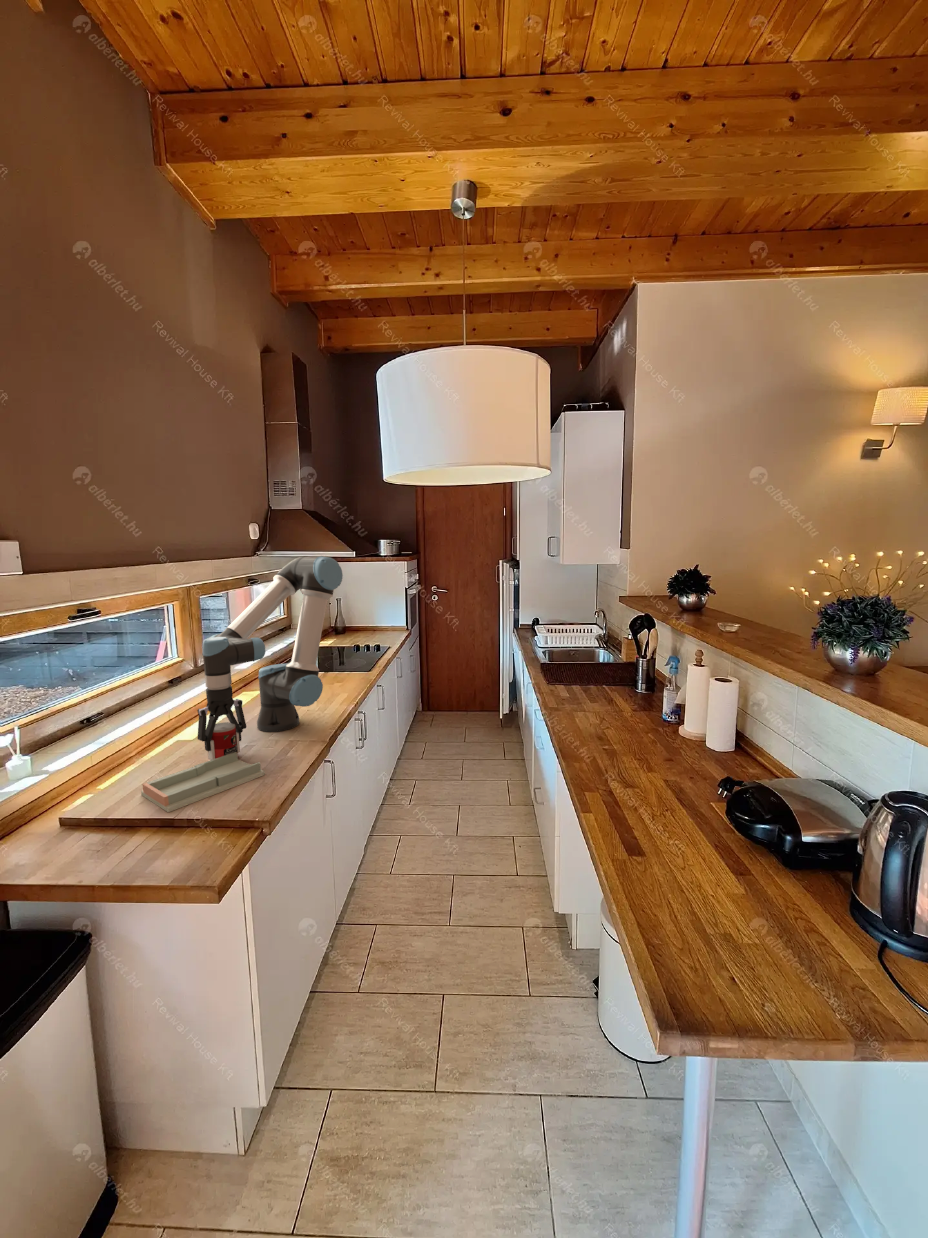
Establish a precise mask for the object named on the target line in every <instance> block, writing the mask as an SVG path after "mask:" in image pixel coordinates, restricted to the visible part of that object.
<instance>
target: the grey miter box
mask: <svg viewBox="0 0 928 1238" xmlns="http://www.w3.org/2000/svg"><path fill="white" fill-rule="evenodd" d="M261 764H262V763H261V762H259V761H257V762H255V763H252V764H250V763H247V762H246V761H243V760H241V759H239V757H238V756H237V752H234V753H231V754H228V755H225V756H222V757H219V758H216V759H213V760H207V761H204V762H201V763H199V764H196V765H193V766H191V767H188V768H185V769H183V770H181V771H177V772H174V773H172V774H167V775H165V776H162V777H159V778H156V779H152V780H150V781H147V782H144V783H142V790H141V791H140V794H141V796H142V797H143V798H145V799H146V800H148V801H150V802H151V803H153V804H154V805H155V806H157V807H159V808H160V809H162V810H163V811H165V812H167V813H170V812H173V811H175V810H178V809H181V808H183V807H186V806H187V805H191V804H193V803H196V802H199V801H200V800H204V799H206V798H208V797H211V796H214V795H216V794H219V793H221V792H225V791H227V790H229V789H231V788H235V787H237V786H239V785H242V784H244V783H247V782H250V781H252V780H256V779H257V778H259V777H263V776H265V775H266V774H265V773H266V772H265V770H263V769H262V767H261Z"/></svg>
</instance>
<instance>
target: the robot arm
mask: <svg viewBox="0 0 928 1238" xmlns="http://www.w3.org/2000/svg"><path fill="white" fill-rule="evenodd" d="M343 576H344V575H343V570H342V567H341V566H340V563H339V562H338V561H337V560H336V559H334V558H333V557H331V556H329V557H328V556H322V555H321V556H308V555H303V556H302V555H301V556H299V557H296V558H295V559H294V558H293V559H292V560H291V561H289V562H288V563H287V564H285V565H284V566H283V567H282V568H281V569H280V570H279V571H278V572H277V573H276V574H275V575H274V576H273V578H272V579H273V581H272V582H271V583H269V585H268V586H267V587H266V588H265V589H264V590H263V591H262V592H261V593H260V594H258V596H257V597H256V598H255V599H254V600H253V601H252V602H251V603H249V605H248V606H247V607H246V608H245V609H244V610H243V611H242V612H241V613H240V614H239V615H238V616H237V617H236V618H235V619H234V620H233V621H232V622H231V624H229V625H228V626H227V627H226V628H225V629H224V630H223V631H222V632H221V633H215V634H213V635H211V636H210V637H207V638H205V639H203V641H202V646H201V647H202V648H201V649H202V659H203V660H202V661H203V670H204V682H205V687H206V689H205V694H206V695H205V696H206V702H207V703H206V705H205V706H206V707H203V708H198V709H197V710H196V711H197V714H198V725H197V726H198V727H197V740H198V741H200V742H204V750H205V752H207V755H208V761H210V760H213V759H215V751H214V741H213V740H211V738H212V735H213V730H214V728H215V725H216V724H217V722H218V720H219V717H222V716H226V718H227V719H228V721H229V723H232V724H235V727H236V739H237V752H238V754H239V753H241V747H240V746H241V744H240V742H241V741H242V733H243V731H244V729H246V728H247V722H246V719H245V714H244V710H243V700H241V699H238V698H235V699H233V696H234V695H233V686H232V684H233V682H232V671H231V666H235V665H240V664H244V663H245V664H246V663H250V662H255V661H259V660H261V659H263V658H264V657H265V655H266V644H265V642H264V641H263V639H262V638H261V637H251V635H253V634H254V632H255V631H256V630H258V628H259V627H260V626H261V625H262V624H264V622H265V621H266V620H267V619H269V617H270V615H272V614H273V613H274V611H276V610H277V608H279V606H280V605H281V604H282V603H284V601H285V600H286V599H287V598H288V597H289V596H294V595H295V594H296V592H298V591H300V593H302V595H303V596H302V602H301V608H300V613H299V617H298V622H297V623H298V624H297V630H296V635H295V640H294V645H293V650H292V656H291V661H290V662H288V663H278V664H271V665H266V666H263V667H261V668H260V669H259V670H258V685H259V699H260V709H259V712H258V717H257V721H256V728H257V729H258V730H259V731H263V732H268V733H271V732H273V733H274V732H275V733H276V732H283V731H287V730H290V729H291V730H292V729H294V728H296V727H297V726H299V724H300V716H299V713H298V711H297V709H296V707H302V708H303V707H309V706H312V705H314V704H315V702H318V701H319V698H320V697H321V695H322V693H323V688H324V686H323V681H322V679H321V678H320V677H319V673H320V669H319V667H318V666H317V661H318V655H319V649H320V643H321V638H322V632H323V626H324V621H325V616H326V611H327V605H328V601H329V600H330V599H331V598H332V597H333V595H334V591H335V590H336V589H338V587H340V586H341V585H342V582H343V578H344V577H343ZM233 706H234V710H235V713H236V714H235V715H236V716H235V715H234V712H233V710H232V708H233ZM208 712H209V715H208ZM207 715H208V717H207ZM207 719H208V720H207Z"/></svg>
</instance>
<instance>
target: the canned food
mask: <svg viewBox="0 0 928 1238" xmlns="http://www.w3.org/2000/svg"><path fill="white" fill-rule="evenodd" d="M211 740H213V741H214V751H215V759H216V758H219V757H222V756H225V755H228V754H231V753H234V752H237V739H236V727H235V724H232V723H230V721H229V722H218V723H216V725H215V728H214V730H213V735H212V738H211ZM238 754H239V753H238V752H237V757H238Z"/></svg>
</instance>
